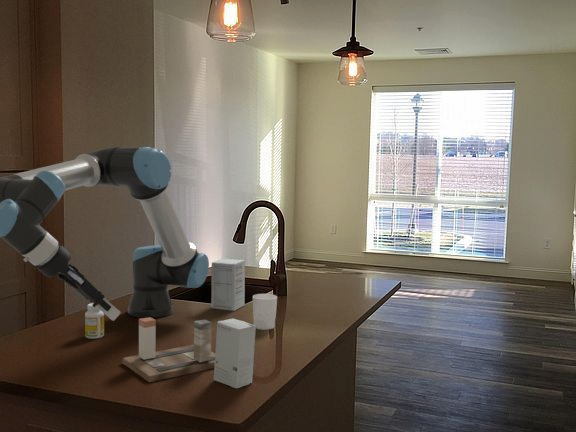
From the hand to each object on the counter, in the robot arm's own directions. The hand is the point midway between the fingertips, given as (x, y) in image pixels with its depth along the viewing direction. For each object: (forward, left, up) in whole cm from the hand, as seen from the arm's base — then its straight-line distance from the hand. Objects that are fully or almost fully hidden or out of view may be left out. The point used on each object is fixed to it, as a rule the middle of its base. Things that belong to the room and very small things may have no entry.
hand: (116, 316), depth 156 cm
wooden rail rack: (+7, +13, -14) cm, 21 cm away
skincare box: (+27, +14, -14) cm, 34 cm away
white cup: (+2, +56, -14) cm, 58 cm away
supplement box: (-24, +67, -14) cm, 73 cm away
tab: (+2, +8, -12) cm, 15 cm away
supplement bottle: (-29, +14, -14) cm, 35 cm away
